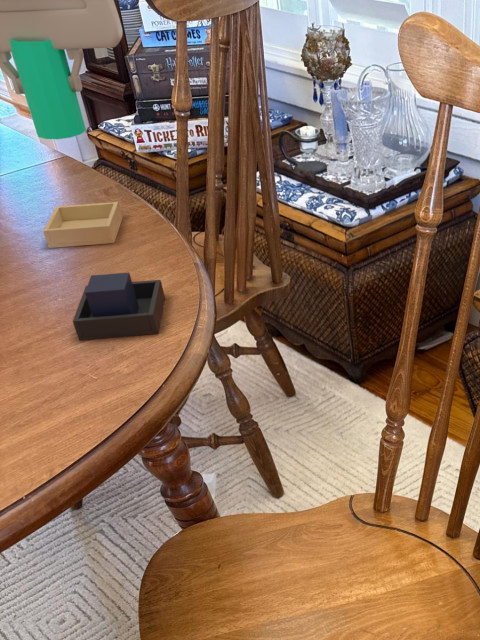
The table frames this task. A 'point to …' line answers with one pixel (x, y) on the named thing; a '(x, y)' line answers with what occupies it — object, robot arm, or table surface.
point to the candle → (48, 89)
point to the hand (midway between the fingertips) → (49, 91)
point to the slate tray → (123, 325)
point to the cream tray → (83, 225)
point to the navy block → (111, 295)
